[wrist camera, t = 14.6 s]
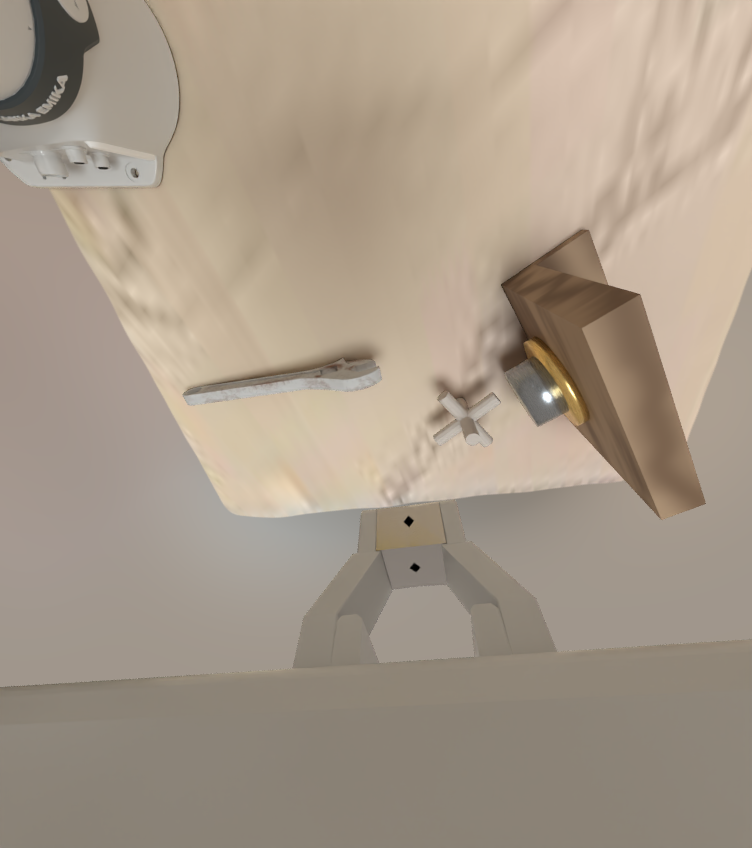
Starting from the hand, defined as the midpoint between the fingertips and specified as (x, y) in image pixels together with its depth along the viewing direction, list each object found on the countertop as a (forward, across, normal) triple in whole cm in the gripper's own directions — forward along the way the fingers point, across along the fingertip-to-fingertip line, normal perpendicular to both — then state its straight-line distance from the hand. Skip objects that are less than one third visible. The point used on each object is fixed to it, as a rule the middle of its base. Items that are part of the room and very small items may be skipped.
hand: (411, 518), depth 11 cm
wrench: (+38, +18, +8) cm, 42 cm away
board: (+37, -23, +10) cm, 45 cm away
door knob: (+37, -16, +13) cm, 42 cm away
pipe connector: (+37, -7, +17) cm, 42 cm away
